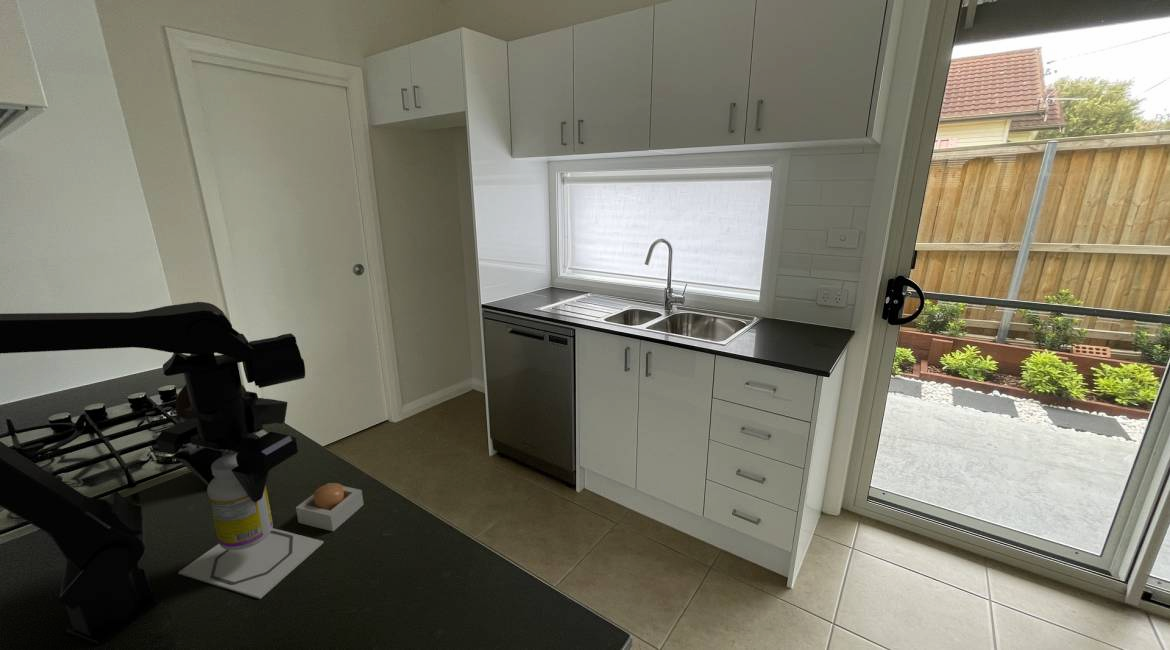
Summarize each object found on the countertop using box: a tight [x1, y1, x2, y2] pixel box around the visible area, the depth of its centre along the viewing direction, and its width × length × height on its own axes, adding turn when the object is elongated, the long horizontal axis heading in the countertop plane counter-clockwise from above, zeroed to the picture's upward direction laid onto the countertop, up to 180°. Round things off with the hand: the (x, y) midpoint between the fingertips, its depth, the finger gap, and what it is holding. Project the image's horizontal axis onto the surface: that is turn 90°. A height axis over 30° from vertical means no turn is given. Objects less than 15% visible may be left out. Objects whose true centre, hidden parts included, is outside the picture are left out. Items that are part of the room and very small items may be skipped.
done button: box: [312, 482, 345, 511], centre depth 80 cm, size 4×4×2 cm
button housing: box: [295, 482, 364, 532], centre depth 81 cm, size 7×7×3 cm
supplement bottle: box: [206, 453, 274, 550], centre depth 68 cm, size 7×7×13 cm
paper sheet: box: [177, 528, 324, 600], centre depth 71 cm, size 11×15×1 cm
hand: (239, 495), depth 68 cm, fingers closed on supplement bottle, 7 cm apart
